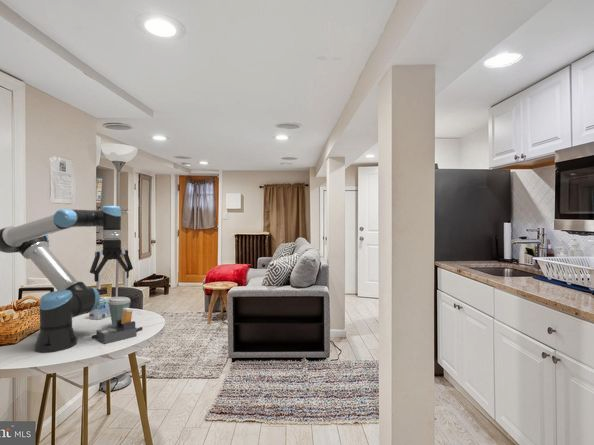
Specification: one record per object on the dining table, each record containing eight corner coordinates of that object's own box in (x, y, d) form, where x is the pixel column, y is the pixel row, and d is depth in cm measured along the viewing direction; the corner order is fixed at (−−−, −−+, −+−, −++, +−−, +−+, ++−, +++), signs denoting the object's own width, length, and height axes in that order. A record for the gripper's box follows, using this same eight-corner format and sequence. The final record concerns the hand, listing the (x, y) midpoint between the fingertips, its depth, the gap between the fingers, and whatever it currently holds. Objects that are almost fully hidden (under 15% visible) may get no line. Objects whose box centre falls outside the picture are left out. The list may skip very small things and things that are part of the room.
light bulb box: (98, 320, 197) (98, 300, 197) (88, 319, 199) (88, 299, 199) (113, 315, 208) (113, 296, 208) (103, 314, 209) (103, 296, 209)
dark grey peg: (134, 332, 174) (134, 329, 174) (132, 332, 175) (132, 329, 175) (142, 329, 179) (142, 327, 179) (140, 329, 179) (140, 326, 179)
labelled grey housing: (104, 344, 158) (104, 328, 158) (96, 339, 165) (96, 323, 165) (136, 336, 168) (136, 321, 168) (127, 332, 175) (127, 317, 175)
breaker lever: (125, 328, 167) (127, 309, 167) (120, 325, 170) (122, 307, 171) (130, 327, 168) (132, 309, 169) (125, 325, 172) (127, 307, 173)
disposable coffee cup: (132, 323, 190) (132, 295, 190) (128, 329, 180) (128, 299, 180) (111, 324, 188) (110, 296, 188) (105, 330, 177) (105, 300, 177)
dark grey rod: (92, 338, 165) (92, 335, 165) (91, 338, 166) (91, 335, 166) (134, 329, 179) (134, 326, 179) (132, 329, 180) (132, 326, 180)
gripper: (87, 240, 154) (87, 291, 154) (140, 238, 171) (140, 284, 171) (81, 239, 159) (81, 289, 159) (133, 238, 176) (133, 282, 176)
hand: (112, 287), depth 165 cm, fingers open, 11 cm apart
